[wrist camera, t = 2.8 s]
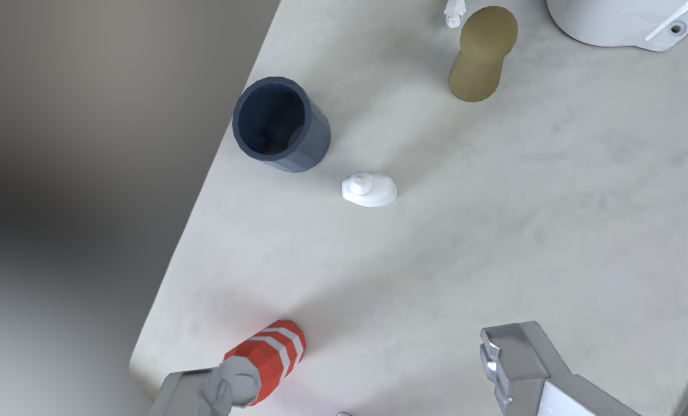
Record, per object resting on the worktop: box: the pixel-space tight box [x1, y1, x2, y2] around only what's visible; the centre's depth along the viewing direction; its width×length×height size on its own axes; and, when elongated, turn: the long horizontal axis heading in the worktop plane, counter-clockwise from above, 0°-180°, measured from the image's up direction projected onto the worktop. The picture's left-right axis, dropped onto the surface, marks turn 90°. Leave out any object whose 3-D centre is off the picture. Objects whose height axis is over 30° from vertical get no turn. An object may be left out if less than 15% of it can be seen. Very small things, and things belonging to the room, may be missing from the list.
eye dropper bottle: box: [342, 171, 397, 207], centre depth 37 cm, size 4×6×12 cm
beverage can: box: [219, 320, 306, 409], centre depth 39 cm, size 6×6×12 cm
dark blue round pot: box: [232, 77, 331, 173], centre depth 42 cm, size 10×10×8 cm
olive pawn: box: [449, 6, 518, 102], centre depth 35 cm, size 6×6×11 cm
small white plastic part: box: [444, 0, 466, 28], centre depth 40 cm, size 4×6×3 cm, turn 149°
